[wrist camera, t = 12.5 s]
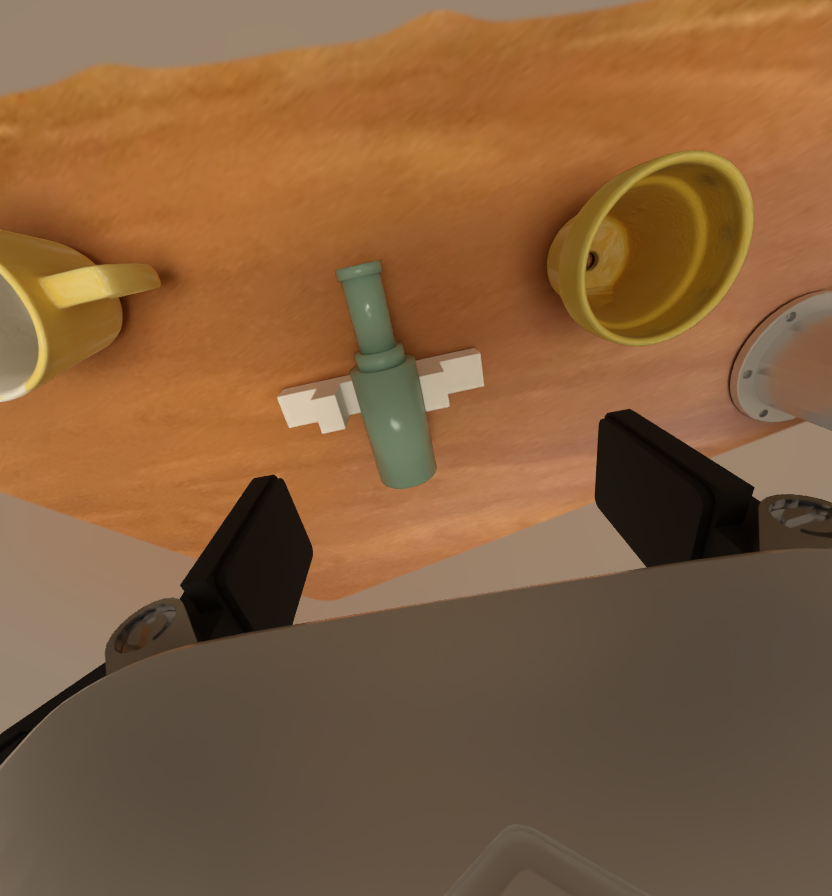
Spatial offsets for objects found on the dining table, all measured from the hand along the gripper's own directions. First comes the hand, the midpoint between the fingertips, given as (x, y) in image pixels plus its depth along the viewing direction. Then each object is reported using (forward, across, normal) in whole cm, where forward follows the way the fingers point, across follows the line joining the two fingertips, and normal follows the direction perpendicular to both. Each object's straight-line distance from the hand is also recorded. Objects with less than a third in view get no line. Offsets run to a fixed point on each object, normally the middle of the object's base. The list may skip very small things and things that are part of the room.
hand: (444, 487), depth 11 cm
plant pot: (+24, -15, -3) cm, 29 cm away
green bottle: (+19, +3, +10) cm, 22 cm away
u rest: (+24, +4, +4) cm, 24 cm away
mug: (+23, +24, -8) cm, 34 cm away
